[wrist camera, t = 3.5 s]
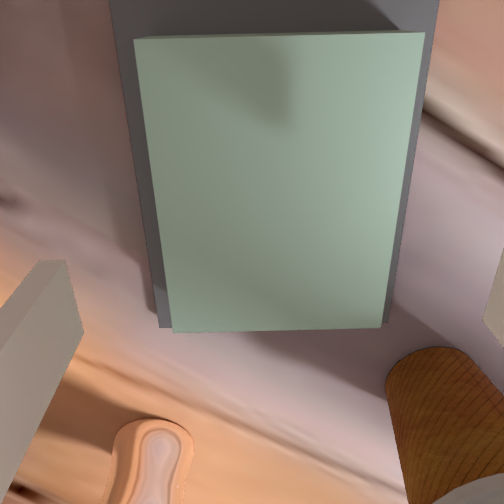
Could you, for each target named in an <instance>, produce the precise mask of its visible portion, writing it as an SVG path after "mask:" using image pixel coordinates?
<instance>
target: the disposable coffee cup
mask: <svg viewBox="0 0 504 504" xmlns="http://www.w3.org/2000/svg"><path fill="white" fill-rule="evenodd" d="M385 392H386V395H387V400H388V405H389V410H390V415H391V420H392V425H393V430H394V434H395V440H396V444H397V450H398V454H399V459H400V464H401V469H402V473H403V478H404V484H405V489H406V493H407V499H408V503H409V504H504V396H503V394H502V393H501V392H500V391H499V390H498V389H497V388H496V387H495V386H494V385H493V384H492V383H491V381H490V380H489V379H488V378H487V377H486V376H485V374H484V373H483V372H482V371H481V370H480V369H479V368H478V366H477V365H476V364H475V363H474V362H473V360H472V359H471V358H470V357H469V356H467V355H466V354H465V353H463V352H461V351H459V350H456V349H453V348H446V347H433V348H427V349H423V350H420V351H417V352H414V353H412V354H410V355H408V356H407V357H405V358H404V359H402V360H401V361H399V362H398V363H397V364H396V365H395V366H394V367H393V369H392V370H391V371H390V373H389V375H388V377H387V379H386V383H385Z"/></svg>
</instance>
